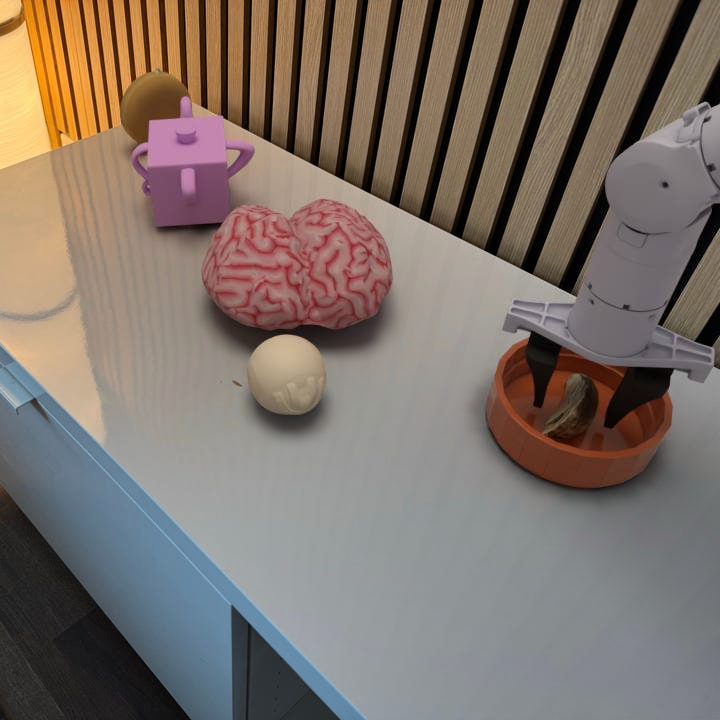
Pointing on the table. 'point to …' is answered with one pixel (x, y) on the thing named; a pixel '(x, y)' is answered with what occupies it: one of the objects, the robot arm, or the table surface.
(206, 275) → the brain
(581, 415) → the oyster shell
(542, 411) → the bowl
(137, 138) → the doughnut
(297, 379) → the cream ball
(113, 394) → the table surface
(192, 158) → the teapot
